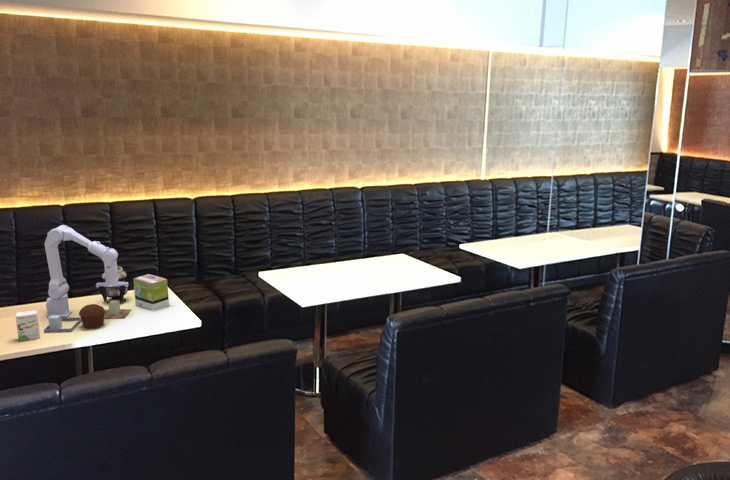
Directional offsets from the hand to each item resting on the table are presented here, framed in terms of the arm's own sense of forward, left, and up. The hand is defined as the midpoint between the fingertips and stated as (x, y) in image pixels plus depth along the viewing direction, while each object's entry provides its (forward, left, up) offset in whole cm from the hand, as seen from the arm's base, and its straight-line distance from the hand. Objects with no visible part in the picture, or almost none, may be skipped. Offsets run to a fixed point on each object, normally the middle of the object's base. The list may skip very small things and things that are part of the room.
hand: (113, 301), depth 310 cm
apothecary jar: (-5, +20, -7) cm, 22 cm away
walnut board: (0, 0, -7) cm, 7 cm away
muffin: (-6, -15, -7) cm, 17 cm away
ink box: (-29, -28, -7) cm, 41 cm away
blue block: (-21, -18, -7) cm, 29 cm away
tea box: (+15, +12, -7) cm, 21 cm away
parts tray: (-19, -15, -7) cm, 25 cm away
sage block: (0, 0, -6) cm, 6 cm away
